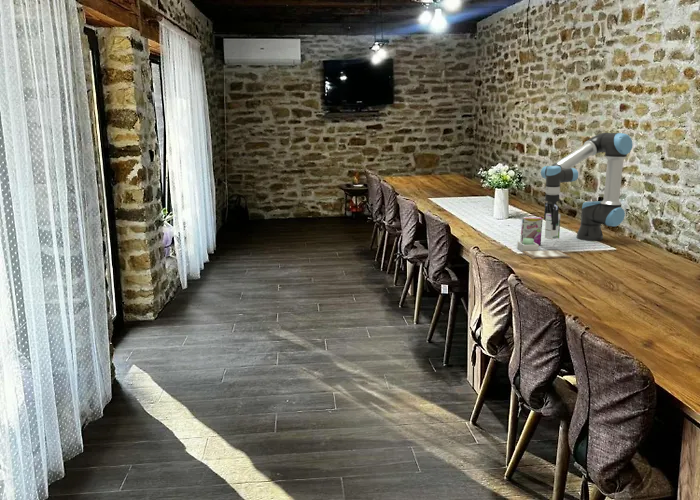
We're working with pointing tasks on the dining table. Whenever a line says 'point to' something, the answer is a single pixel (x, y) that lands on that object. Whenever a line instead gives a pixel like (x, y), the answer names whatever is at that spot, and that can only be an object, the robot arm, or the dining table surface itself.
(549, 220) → the syrup box
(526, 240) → the button
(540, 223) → the candy bar box
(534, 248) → the button housing
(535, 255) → the drawing board
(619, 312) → the dining table surface
